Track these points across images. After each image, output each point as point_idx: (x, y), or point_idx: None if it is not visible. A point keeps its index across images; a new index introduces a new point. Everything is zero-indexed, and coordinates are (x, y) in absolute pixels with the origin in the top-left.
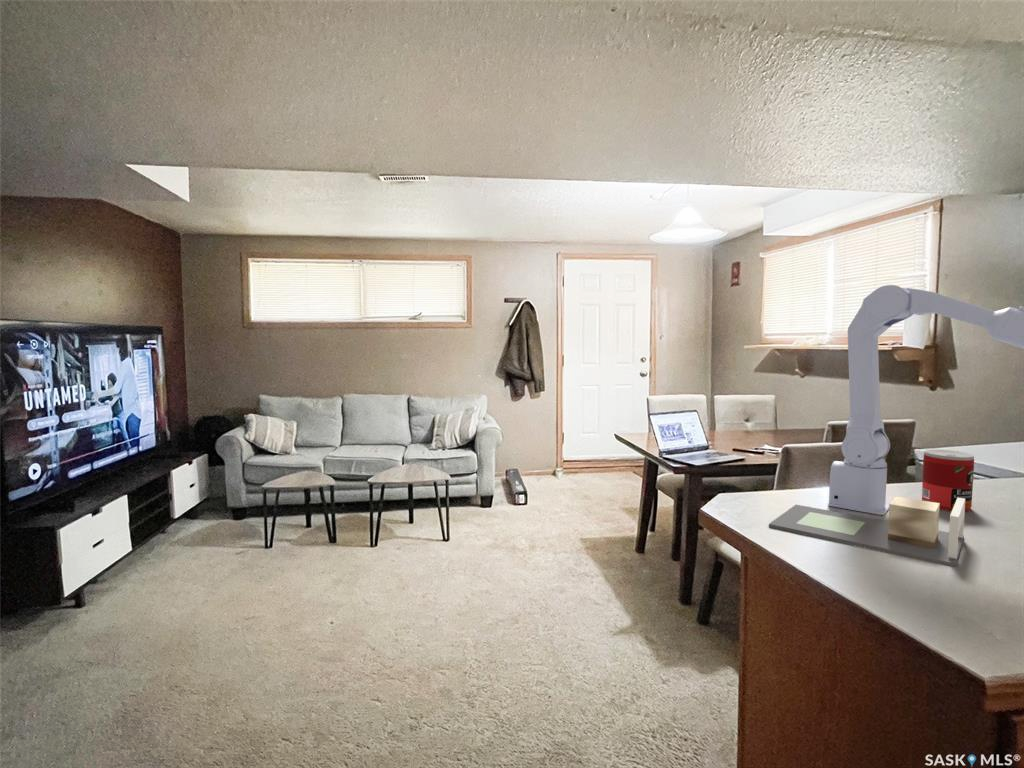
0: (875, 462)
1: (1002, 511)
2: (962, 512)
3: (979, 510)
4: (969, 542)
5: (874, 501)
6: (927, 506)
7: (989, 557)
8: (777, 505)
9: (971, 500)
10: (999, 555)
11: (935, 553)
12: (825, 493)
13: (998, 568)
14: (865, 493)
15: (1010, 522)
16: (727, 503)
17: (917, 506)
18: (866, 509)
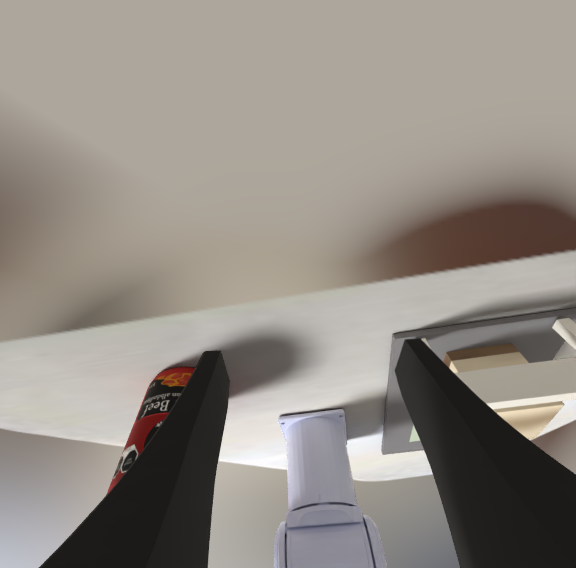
0: (354, 519)
1: (114, 340)
2: (514, 384)
3: (154, 360)
4: (409, 325)
5: (338, 435)
6: (526, 416)
7: (488, 292)
8: (386, 457)
9: (173, 385)
10: (465, 285)
11: (537, 336)
12: (275, 457)
13: (552, 272)
14: (346, 452)
15: (194, 317)
16: (416, 472)
17: (533, 421)
18: (340, 424)
